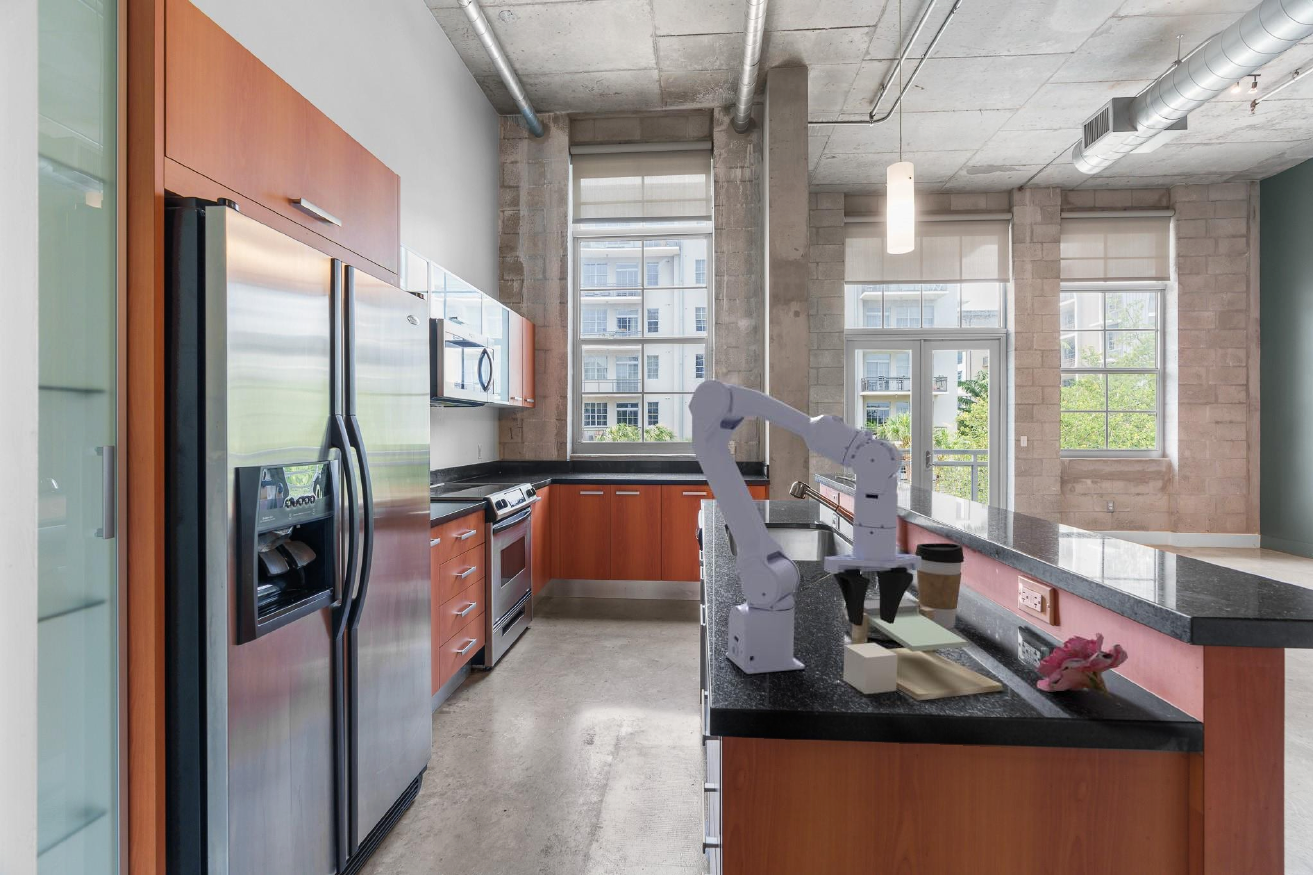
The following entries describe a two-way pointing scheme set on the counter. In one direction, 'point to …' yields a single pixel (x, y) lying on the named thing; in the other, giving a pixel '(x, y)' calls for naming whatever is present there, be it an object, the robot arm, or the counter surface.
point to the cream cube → (870, 668)
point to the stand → (930, 670)
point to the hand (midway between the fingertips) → (871, 622)
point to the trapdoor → (912, 628)
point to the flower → (1079, 665)
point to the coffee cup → (940, 580)
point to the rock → (871, 631)
